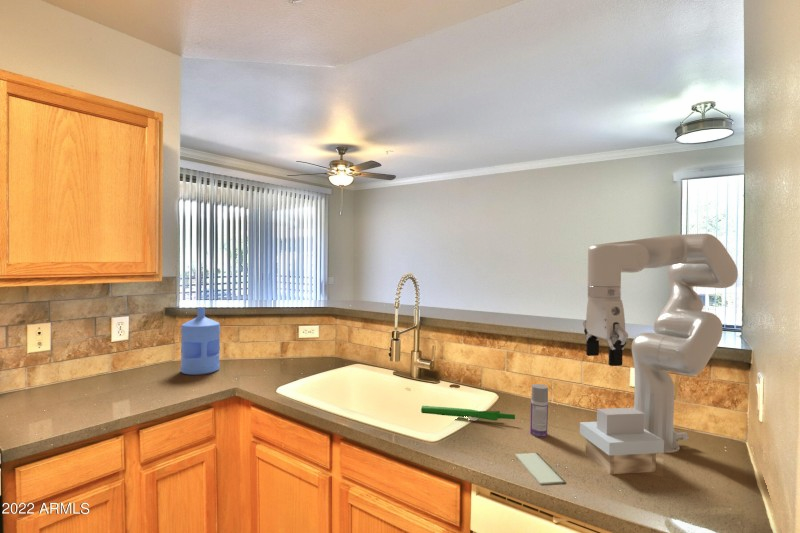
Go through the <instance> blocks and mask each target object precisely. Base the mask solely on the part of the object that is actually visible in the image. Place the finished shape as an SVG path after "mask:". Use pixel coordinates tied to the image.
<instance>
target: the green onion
mask: <svg viewBox="0 0 800 533" xmlns="http://www.w3.org/2000/svg"><path fill="white" fill-rule="evenodd" d="M420 411H421V414H426V415H427V414H429V415H438V416H449V417H457V418H458V417H459V418H462V417H464V416H465V417H466V416H467V417H468V418H469V419H470V420H471V421H475V422H476V421H478V420H479V419H481V420H488V421H498V420H499V419H502V420H503V419H505V420H516V415H515V414H513V413H511V414H510V413H501V411H500V410H496V411H494V410H493V411H492V410H475V409H470V408H469V409H468V408H459V407H458V408H457V407H449V406H448V407H447V406H446V407H445V406H434V405H432V406H430V405H422V406H421V409H420Z"/></svg>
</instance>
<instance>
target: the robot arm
mask: <svg viewBox="0 0 800 533" xmlns="http://www.w3.org/2000/svg"><path fill="white" fill-rule="evenodd" d="M668 266H669V267H668ZM663 267H668V273H667V275H668V283H669V290H670V298H669V299H668V300H667V302H666V303H665V306H664V307H663V308H662V309H661V311H660V312H659V314H658V315H657V317H656V319H655V320H654V323H653V330H654V332H643V333H640V334H637V335H636V336H635V337H634V338H633V340H632V342H631V356H632V360H633V361H632V362H633V368H634V394H633V400H634V401H633V408H635V409H637V410H638V411H640V412H642V413H644V429H645V430H647V431H648V432H650V433H652V434H654V435H656V436H657V437H659V438H661V439H663V440H664V453H669V454H670V453H676V452H678V451H679V450H680V446H679V444H678V443H677V442H678V441H684V440H689V434H688V433H687V432H683V431H682V432H677V431H676V430H675V429H674V416H675V415H674V412H675V411H674V410H675V384H674V381H673V378H672V377H671V375H670V373H674V374H675V373H676V374H679V375H684V376H690V377H691V376H698V375H700V373H702V372H703V371H704V369H705V368H706V366H707V364H708V362H709V361H710V359H711V358H712V357H713V354H714V352H715V351H716V349H717V348H718V346H719V344H720V342H721V340H722V336H723V323H722V320H721V319H720V317H718V316H717V314H714V313H712V312H710V311H709V312H708V311H704V310H703V308H704V303H703V301H702V299H701V297H700V295H699V294H698V293H697V292H696V291H695V290H694V287H697V288H711V289H713V288H714V289H726V288H730V287H732V286H734V285H735V283H736V282H737V280H738V276H739V273H738V267H737V265H736V262H735V261H734V259H733V257H732V256H731V255H730V253H729V251H728V250H727V248H726V247H725V245H724V244H723V243H722V242H721V241H720V240H719V239H718V238H717V237H716V236H715V235H713V234H711V233H710V234H709V233H692V234H691V233H688V234H685V233H684V234H673V235H672V234H671V235H663V236H657V237H646V238H638V239H633V240H625V241H615V242H608V243H607V242H606V243H599V244H593V245H590V246H589V247H588V251H587V304H586V305H587V306H586V313H585V314H586V318H585V320H584V321H583V322H582V326H583V330H584V331H583V332H584V334H585V337H584V338H585V340H586V343H585V344H586V345H585V346H586V348H585V349H586V350H585V351H586V354H585V355H586V356H588V357H595V356H596V357H597V356H599V355H600V340H598V339H601V340H604V341H607V343H608V345H609V349H608V366H610V367H615V366H616V367H617V366H619V367H620V366H621V367H622V366H623V354H624V353H623V350H625V346H626V344H627V340H628V337H629V334H628V332H627V331H626V320H625V310H624V304H623V300H622V287H621V286H622V273H632V274H634V273H639V272H642V271H643V270H645V269H659V268H663ZM669 372H670V373H669ZM664 453H663V454H664Z"/></svg>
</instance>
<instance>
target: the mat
mask: <svg viewBox="0 0 800 533" xmlns="http://www.w3.org/2000/svg"><path fill="white" fill-rule="evenodd" d="M514 454H515V455H514V456H515V457H516V458H517V459H518V461H519V462H520V463H521V464H522V465H523V466H524V467H525V469H527V471H528V472H529V473H530V475H531V476H532V477H533V478H534V479H535V480H536V481H537V482H538V484H539V485H552V484H553V485H554V484H567V482H566V480H565V479H563V477H561V475H560V474H559V473H557V471H555V469H554V468H552V466H551V465H549V463H547V461H546V460H544V459H543V457H541V455H540V454H539V453H538V452H531V453H529V452H527V453H514Z"/></svg>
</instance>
